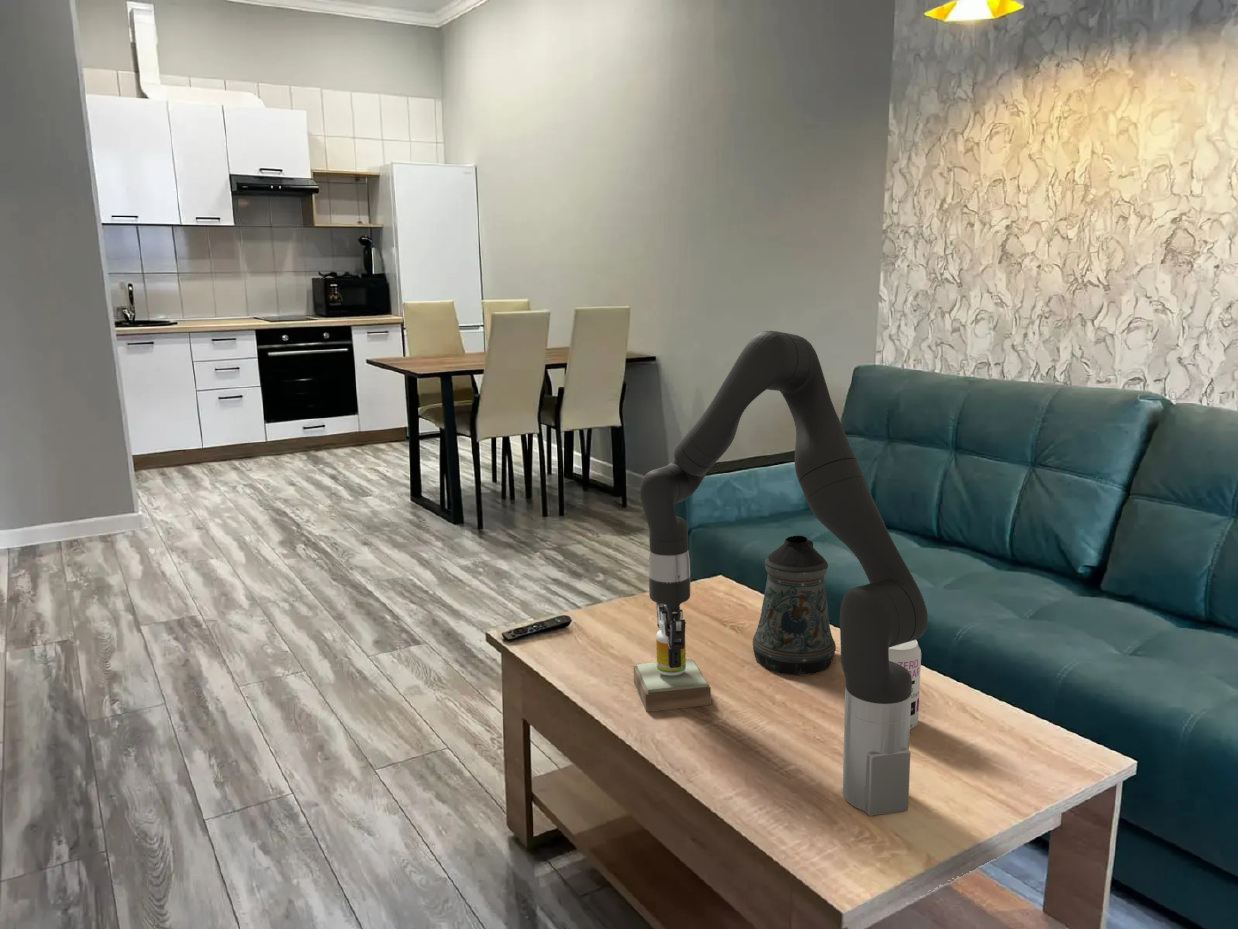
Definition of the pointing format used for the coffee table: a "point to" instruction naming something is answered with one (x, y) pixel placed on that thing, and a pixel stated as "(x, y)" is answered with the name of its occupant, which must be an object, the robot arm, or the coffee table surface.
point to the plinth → (671, 687)
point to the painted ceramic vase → (795, 612)
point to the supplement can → (910, 660)
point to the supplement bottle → (663, 654)
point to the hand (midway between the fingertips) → (671, 659)
